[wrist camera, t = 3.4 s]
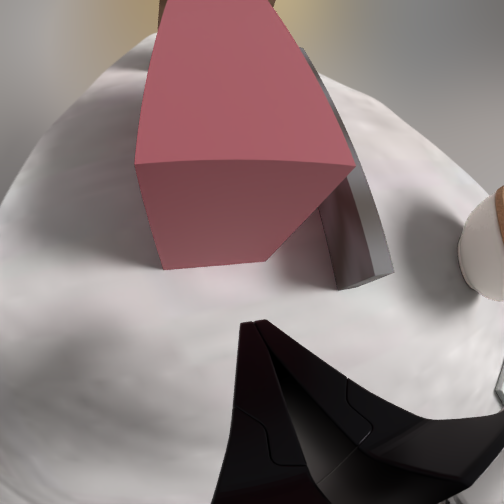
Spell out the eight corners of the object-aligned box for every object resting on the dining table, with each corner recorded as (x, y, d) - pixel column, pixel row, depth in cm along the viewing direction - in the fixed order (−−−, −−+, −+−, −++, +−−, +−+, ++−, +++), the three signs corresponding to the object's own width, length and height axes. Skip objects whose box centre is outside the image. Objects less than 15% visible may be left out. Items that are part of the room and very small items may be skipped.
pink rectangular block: (265, 261, 17) (356, 166, 7) (163, 270, 15) (134, 164, 6) (236, 101, 20) (266, -1, 11) (164, 101, 19) (170, -8, 10)
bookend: (356, 287, 17) (514, 215, 6) (149, 313, 14) (39, 226, 3) (285, 67, 24) (325, -24, 13) (158, 61, 20) (167, -45, 9)
